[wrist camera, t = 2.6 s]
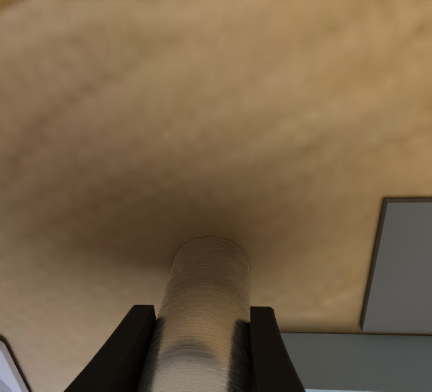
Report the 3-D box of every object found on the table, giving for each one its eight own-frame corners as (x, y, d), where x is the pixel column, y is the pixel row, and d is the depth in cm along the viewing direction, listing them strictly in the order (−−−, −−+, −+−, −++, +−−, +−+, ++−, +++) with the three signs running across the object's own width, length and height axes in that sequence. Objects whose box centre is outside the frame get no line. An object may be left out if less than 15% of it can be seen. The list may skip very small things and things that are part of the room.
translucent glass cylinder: (177, 296, 14) (113, 569, 7) (169, 236, 13) (79, 503, 6) (250, 297, 14) (255, 582, 7) (249, 236, 13) (254, 516, 6)
